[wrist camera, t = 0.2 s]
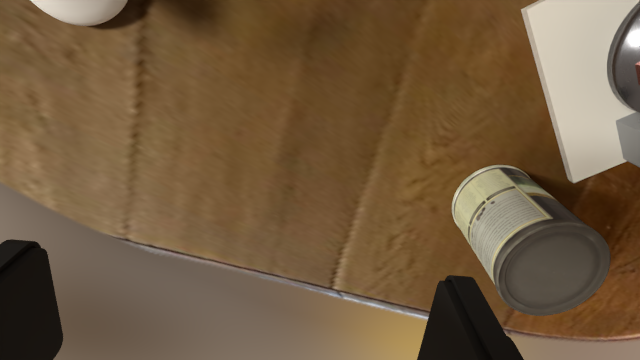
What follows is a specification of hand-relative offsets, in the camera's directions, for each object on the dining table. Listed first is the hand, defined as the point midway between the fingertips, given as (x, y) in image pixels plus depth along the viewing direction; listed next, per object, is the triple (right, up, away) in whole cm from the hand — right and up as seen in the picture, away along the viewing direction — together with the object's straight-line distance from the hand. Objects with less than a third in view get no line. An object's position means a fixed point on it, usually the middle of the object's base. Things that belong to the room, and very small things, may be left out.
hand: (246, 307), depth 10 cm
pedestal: (+35, +15, +34) cm, 51 cm away
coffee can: (+23, 0, +41) cm, 47 cm away
